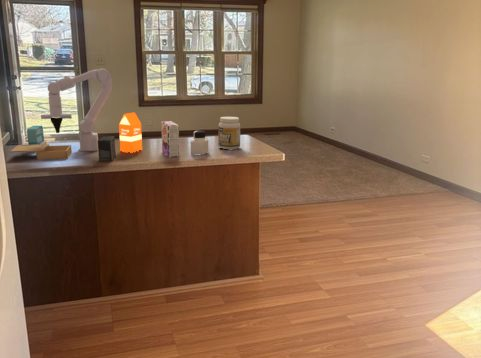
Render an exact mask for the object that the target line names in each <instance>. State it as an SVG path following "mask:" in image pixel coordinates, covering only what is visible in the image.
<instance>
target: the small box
mask: <svg viewBox="0 0 481 358" xmlns="http://www.w3.org/2000/svg"><path fill="white" fill-rule="evenodd" d="M97 151H98V163H99V162H100V163H101V162H102V163H103V162H109V163H110V162H111V161H112V162H113V161H114V160H115V158H116V157H117V154H116V141H115V136H110V135H109V136H101V137H100V138H98V150H97Z"/></svg>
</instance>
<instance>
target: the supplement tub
mask: <svg viewBox="0 0 481 358" xmlns="http://www.w3.org/2000/svg"><path fill="white" fill-rule="evenodd" d="M219 121H220V122H219V123H218V135H217V136H218V142H217V144H218V145H217V146H218V148H219V147H220V148H223V149H222V150H224V149H235V150H238V149H240V148H239V147H241V123H240V118H239V117H238V116H221V117H220V118H219ZM237 148H238V149H237Z"/></svg>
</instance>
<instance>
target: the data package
mask: <svg viewBox="0 0 481 358" xmlns="http://www.w3.org/2000/svg"><path fill="white" fill-rule="evenodd" d="M44 135H45V134H44V127H43V125H32V126H30V127H28V128H27V129H26V136H27V143H28V144H27V145H40V144H41V143H42V142H43V141H45V137H44Z"/></svg>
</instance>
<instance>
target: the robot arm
mask: <svg viewBox="0 0 481 358" xmlns="http://www.w3.org/2000/svg"><path fill="white" fill-rule="evenodd" d="M90 79H91V80H98V81H99V82H100V85H101V89H100V91H99V93H98V95H97V97H96V98H95V100H94V101H93V104H92V105H91V107H90V109H89V110H88V112H87V114H86V115H85V117H84V118H83V119H81V120H80V121H79V124H78V127H79V130H80V131H79V132H78V138H79V149H78V151H79V152H85V151H87V152H90V151H91V152H92V151H95V152H96V151H98V140H99V135H98V133H97V132H94V131H93V126H94V124H95V122H96V119H97V117H98V115H99V113H100V112H101V110H102V109H103V106H104V105H105V103H106V102H107V100H108V98H109V96H110V95H111V92H112V91H113V80H112V75H111V73H110V71H109V70H108V69H106V68H103V67H102V68H98V69H92V70H89V71H85V72H84V73H81V74H79V75H77V76H73V77H72V76H71V75H69V76H67V75H65V76H64V77H63V78H60V79H55V80H54V81H55V82H54V81H52V82H49V83H48V85H47V91H48V105H49V106H48V107H49V114H41V115H40V118H41V120H44V119H45V120H50V122H51V124H52V125H53V128H54V129H55V132H56V134H59V133H60V132H61V131H60V130H61V125H62V122H63V119H65V120H66V119H70V120H71V119H72V117H73V116H72V114H71V113H70V114H67V113H66V114H64V113H63V108H62V100H61V99H62V97H61V95H60V94H61V93H60V92H64V91H66V90H69V89H72V88H75V85H76V84H78V83H82V82H83V81H84V82H85V81H88V80H90Z"/></svg>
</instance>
